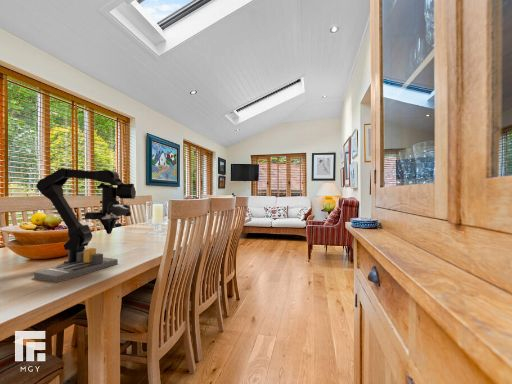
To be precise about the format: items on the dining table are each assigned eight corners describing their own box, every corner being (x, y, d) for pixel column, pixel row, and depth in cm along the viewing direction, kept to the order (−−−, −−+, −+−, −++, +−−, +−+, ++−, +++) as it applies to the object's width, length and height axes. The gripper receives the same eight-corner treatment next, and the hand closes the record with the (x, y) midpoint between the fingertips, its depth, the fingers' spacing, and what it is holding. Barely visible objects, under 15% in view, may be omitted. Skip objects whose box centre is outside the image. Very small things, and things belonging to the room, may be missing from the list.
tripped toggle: (83, 261, 102) (83, 249, 102) (90, 259, 105) (90, 247, 105) (88, 262, 101) (88, 250, 101) (95, 260, 104) (96, 248, 104)
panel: (34, 277, 90) (34, 261, 90) (97, 260, 113) (97, 248, 113) (56, 282, 86) (56, 265, 86) (117, 263, 108) (117, 250, 108)
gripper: (103, 199, 101) (103, 238, 101) (140, 198, 119) (139, 232, 119) (84, 198, 105) (83, 236, 105) (122, 198, 123) (121, 230, 123)
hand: (109, 233), depth 113 cm, fingers closed
